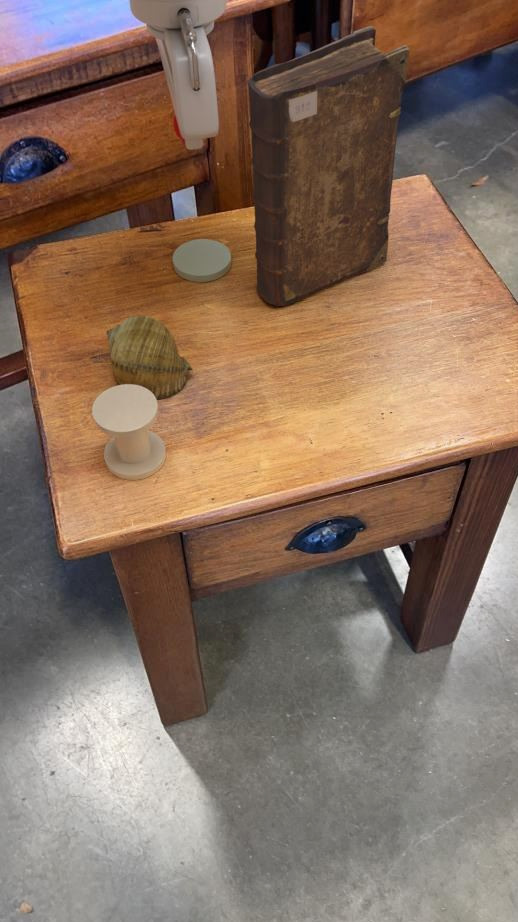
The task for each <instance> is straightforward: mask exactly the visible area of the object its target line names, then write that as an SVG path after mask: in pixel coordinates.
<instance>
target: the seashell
mask: <svg viewBox="0 0 518 922" xmlns="http://www.w3.org/2000/svg"><path fill="white" fill-rule="evenodd" d="M106 336H107V341H108V351H109V353H110V362H111V368H112V369H111V370H112V372H113V374H114V376H115V380H116V381H117V383H118V385H123V384H134V385H139V386H142V387H144V388H146V389H148V390H149V391H151V392H152V393H153V394H154V396H155V397H156V399H157V400H163V399H165V398H169V397H172V396H173V395H176V394H178V393H179V392H180V393H181V391H182V388H183V387H184V384H185V382H186V380H187V372H188V371H193V367H192V365H191V364H190V362H189V361H188V359H186V358H185V357H183V356H181V355H180V353H179V349H178V346H177V343H176V341H175V339H174V336H173V335H172V333H171V331H170V330H169V329H168V328H167V327H166V326H165V324H163V323H162V322H160V321H159V320H157V319H156V318H154V317H151V316H147V315H141V314H139V315H133V316H130V317H128V318H126V319H124V320H123V321H122V323H121V324H118V325H115V326H113V328H110V329H109V330H107V331H106Z"/></svg>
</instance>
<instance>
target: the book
mask: <svg viewBox="0 0 518 922" xmlns="http://www.w3.org/2000/svg"><path fill="white" fill-rule="evenodd" d="M376 34H377V30H376V28H375V27H374V26H373V25H369V26H367V27H363V28H359V29H357V30H355V31H353V32H352V33H350V34H348V35H345V36H343V37H341V38H339V39H338V40H335V41H333V42H330V43H328V44H326V45H323V46H321V47H319V48H317V49H315V50H313V51H310V52H307V53H305V54H302V55H300V56H298V57H295V58H293V59H290V60H287V61H285V62H282V63H281V62H280V63H276V64H273V65H271V66H268V67H266V68H263V69H261V70H259V71H257V72H256V73H254V74H253V75H252V76H251V77H249V79H248V81H247V89H248V102H249V103H248V105H249V123H248V126H249V128H250V131H251V132H250V133H251V155H252V156H251V159H250V162H251V166H252V181H253V182H252V183H253V191H252V198H253V203H254V204H253V205H254V224H253V228H254V232H255V252H254V257H255V259H256V291H257V293H258V294H259V296H260V297H261V298H262V299H263V300H264V301H265V302H266V303H268V304H269V305H273V306H276V307H279V306H283V307H285V306H288V305H291V304H294V303H297V302H298V301H302V300H305V299H306V298H307V297H308V296H310V295H312V294H315V293H317V292H319V291H321V290H324V289H326V288H329V287H330V286H333V285H334V284H336V283H338V282H342V281H344V280H346V279H348V278H350V277H353V276H358V275H361V274H363V273H366V272H369V271H371V270H373V269H375V268H377V267H379V266H382V265H383V264H385V263H386V262H388V261H387V260H388V248H389V237H390V236H389V235H390V234H389V220H390V214H391V202H392V201H391V199H392V198H391V197H392V190H393V182H394V181H393V180H394V167H395V166H394V165H395V158H396V147H397V139H398V138H397V137H398V129H399V127H398V126H399V120H400V117H401V115H400V114H401V113H402V112H401V105H402V99H403V98H402V97H403V91H404V87H405V83H406V80H407V75H408V67H409V66H408V65H409V58H410V47H409V46H408V45H407V44H404V45H402V46H400V47H397V48H395V49H393V50H391V51H390V52H386V53H384V52H383V51H381V49H379V48H377V47H376V46H375V45H376Z"/></svg>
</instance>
